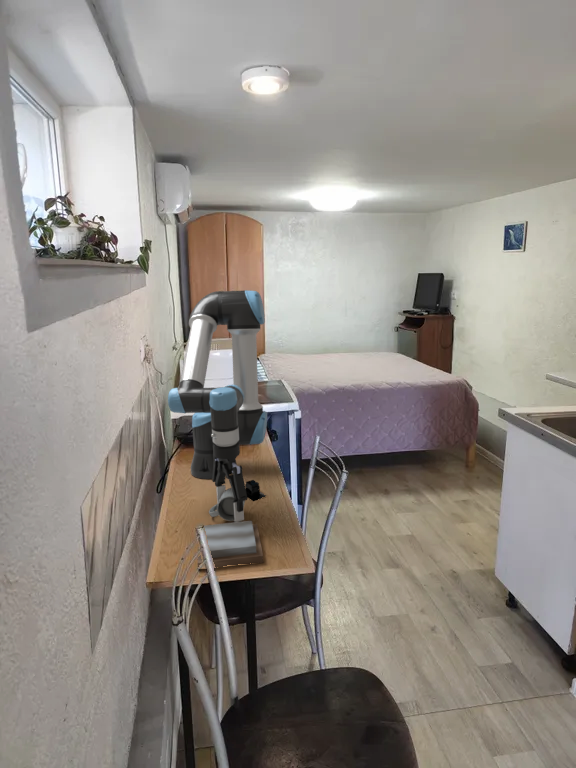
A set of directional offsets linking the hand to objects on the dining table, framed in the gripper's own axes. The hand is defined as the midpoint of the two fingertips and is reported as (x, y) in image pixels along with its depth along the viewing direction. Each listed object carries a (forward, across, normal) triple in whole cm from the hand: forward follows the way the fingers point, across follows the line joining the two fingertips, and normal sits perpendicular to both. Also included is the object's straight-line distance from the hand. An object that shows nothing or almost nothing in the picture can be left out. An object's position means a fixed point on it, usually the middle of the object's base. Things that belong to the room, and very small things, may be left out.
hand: (230, 513), depth 145 cm
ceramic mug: (+1, -1, -1) cm, 1 cm away
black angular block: (+2, -10, +13) cm, 17 cm away
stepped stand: (+1, +15, -8) cm, 17 cm away
